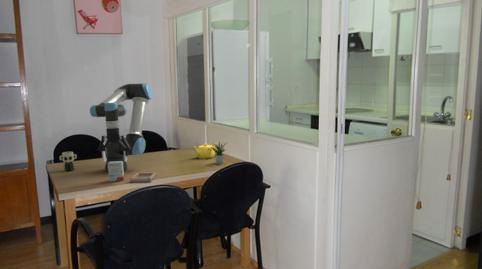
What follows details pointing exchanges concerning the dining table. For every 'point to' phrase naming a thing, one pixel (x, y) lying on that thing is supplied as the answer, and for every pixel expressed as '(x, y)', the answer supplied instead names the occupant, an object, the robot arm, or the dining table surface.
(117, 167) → the ink box
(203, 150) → the teapot
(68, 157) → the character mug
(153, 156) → the dining table surface
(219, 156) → the house plant
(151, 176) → the holder
